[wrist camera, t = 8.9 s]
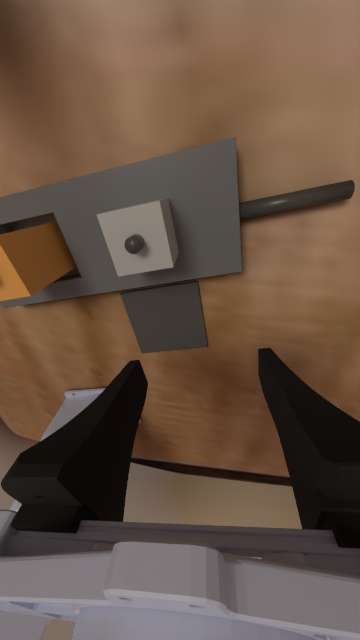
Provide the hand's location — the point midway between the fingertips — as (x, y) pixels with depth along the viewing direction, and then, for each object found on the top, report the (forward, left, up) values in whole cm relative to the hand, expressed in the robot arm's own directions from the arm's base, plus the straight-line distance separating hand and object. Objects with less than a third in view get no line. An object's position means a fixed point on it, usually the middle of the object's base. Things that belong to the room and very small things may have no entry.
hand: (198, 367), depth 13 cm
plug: (-13, +7, -10) cm, 18 cm away
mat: (-4, -2, -10) cm, 11 cm away
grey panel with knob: (-4, +7, -10) cm, 13 cm away
